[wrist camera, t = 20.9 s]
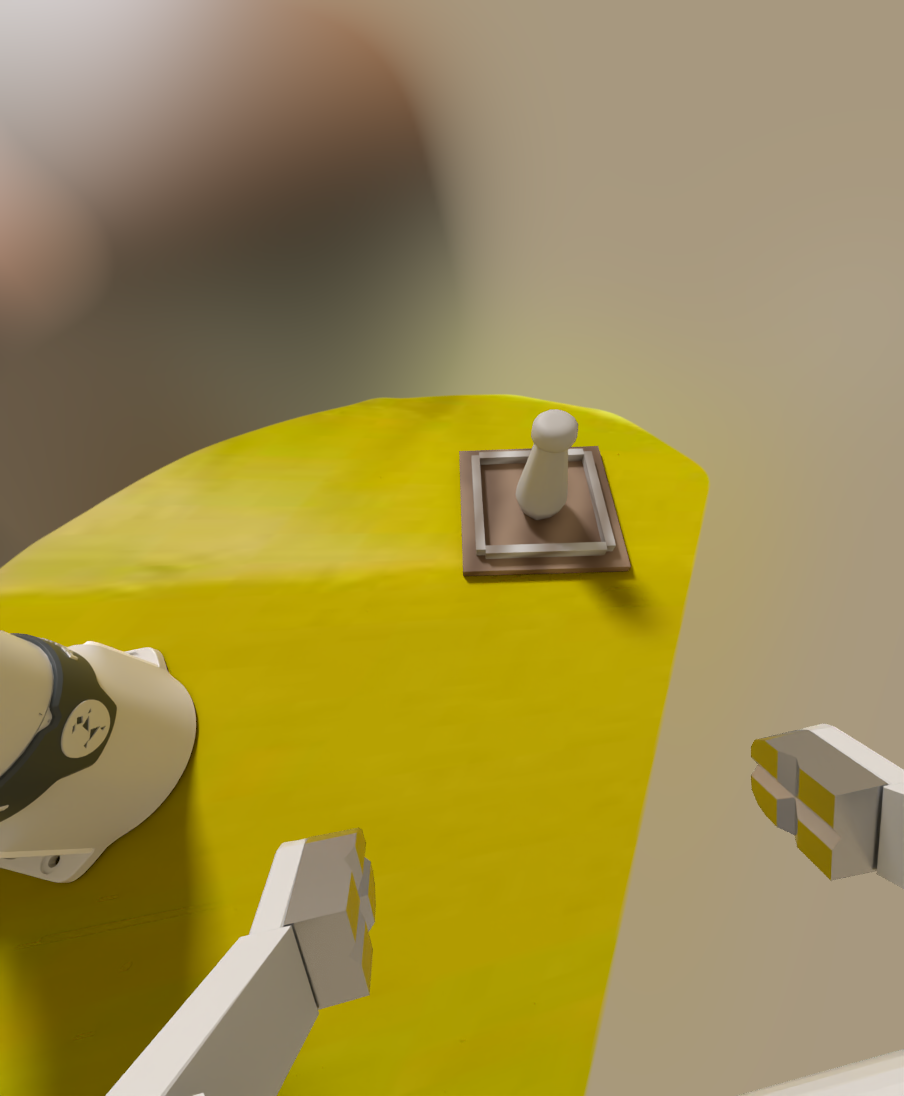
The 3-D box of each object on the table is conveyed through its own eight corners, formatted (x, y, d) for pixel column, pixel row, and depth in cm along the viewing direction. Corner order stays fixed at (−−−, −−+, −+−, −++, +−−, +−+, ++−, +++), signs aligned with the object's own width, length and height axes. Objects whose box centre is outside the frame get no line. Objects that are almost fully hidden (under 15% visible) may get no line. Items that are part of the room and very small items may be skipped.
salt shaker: (569, 497, 51) (596, 409, 40) (554, 533, 48) (578, 449, 38) (523, 481, 53) (537, 393, 42) (506, 516, 50) (516, 431, 39)
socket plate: (463, 576, 47) (463, 566, 45) (459, 456, 57) (459, 444, 55) (627, 571, 47) (634, 560, 45) (596, 451, 56) (600, 439, 54)
